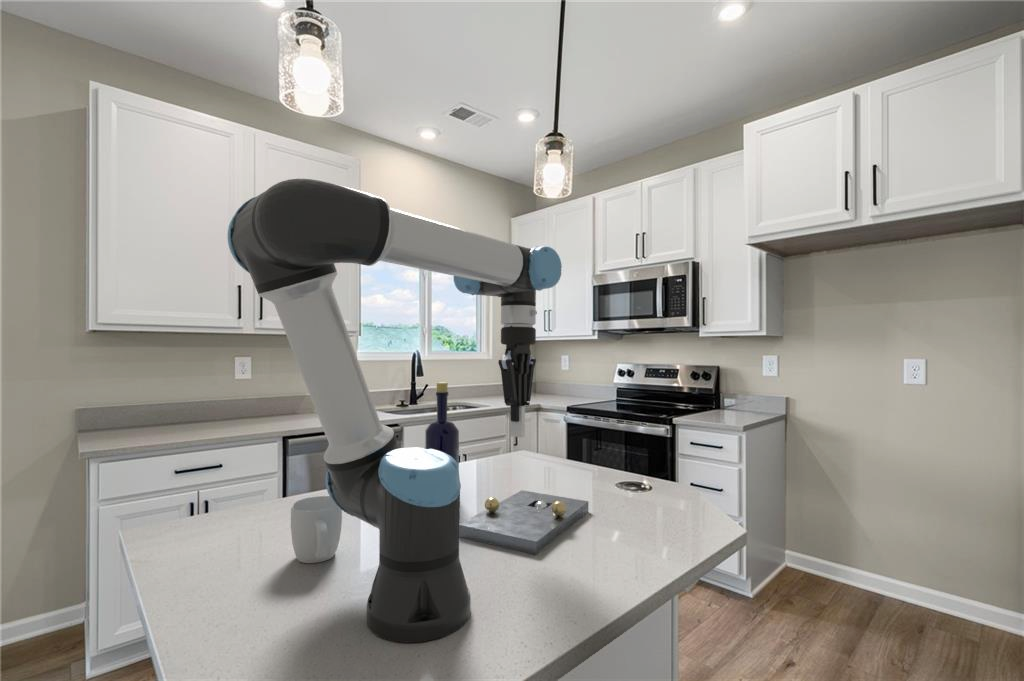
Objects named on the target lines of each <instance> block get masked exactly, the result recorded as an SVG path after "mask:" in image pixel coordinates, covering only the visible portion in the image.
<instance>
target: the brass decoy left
mask: <svg viewBox="0 0 1024 681" xmlns="http://www.w3.org/2000/svg"><path fill="white" fill-rule="evenodd" d="M499 502H500V501H499V500H498V499H497V498H496V497H488V498H487V499H486V500H485V503H484V508H485V510H487V511H488V512H495V511H497V510H498V508H499Z"/></svg>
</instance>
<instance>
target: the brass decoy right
mask: <svg viewBox="0 0 1024 681" xmlns="http://www.w3.org/2000/svg"><path fill="white" fill-rule="evenodd" d="M551 509H552V513H553V514H554V515H555V516H558V517H560V516H563V515H564V514H565V512H566V506H565V504H564V503H563V502H561V501H556V502H554V503H553V505H552V508H551Z"/></svg>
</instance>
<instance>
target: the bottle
mask: <svg viewBox="0 0 1024 681" xmlns="http://www.w3.org/2000/svg"><path fill="white" fill-rule="evenodd" d="M448 388H449V387H448V382H445V381H444V382H440V381H439V382H436V392H435V397H436V420H435V421H432V422H430V423H429V424H428V426H427V427H426V428H425V430H424V449H435V450H439V451H441V452H444V453H446V454H448V455H450V456H451V457H452V458H453V459H454V460H455V461H456V462H457V465H458V468H459V469H460V464H459V462H460V459H459V456H460V451H459V450H460V446H459V445H460V444H459V442H460V441H459V440H460V437H459V436H460V431H459V429H458V427H457V426H456V425H455V424H454V422H452V421H450V420H447V419H448V396H449V391H448Z"/></svg>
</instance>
